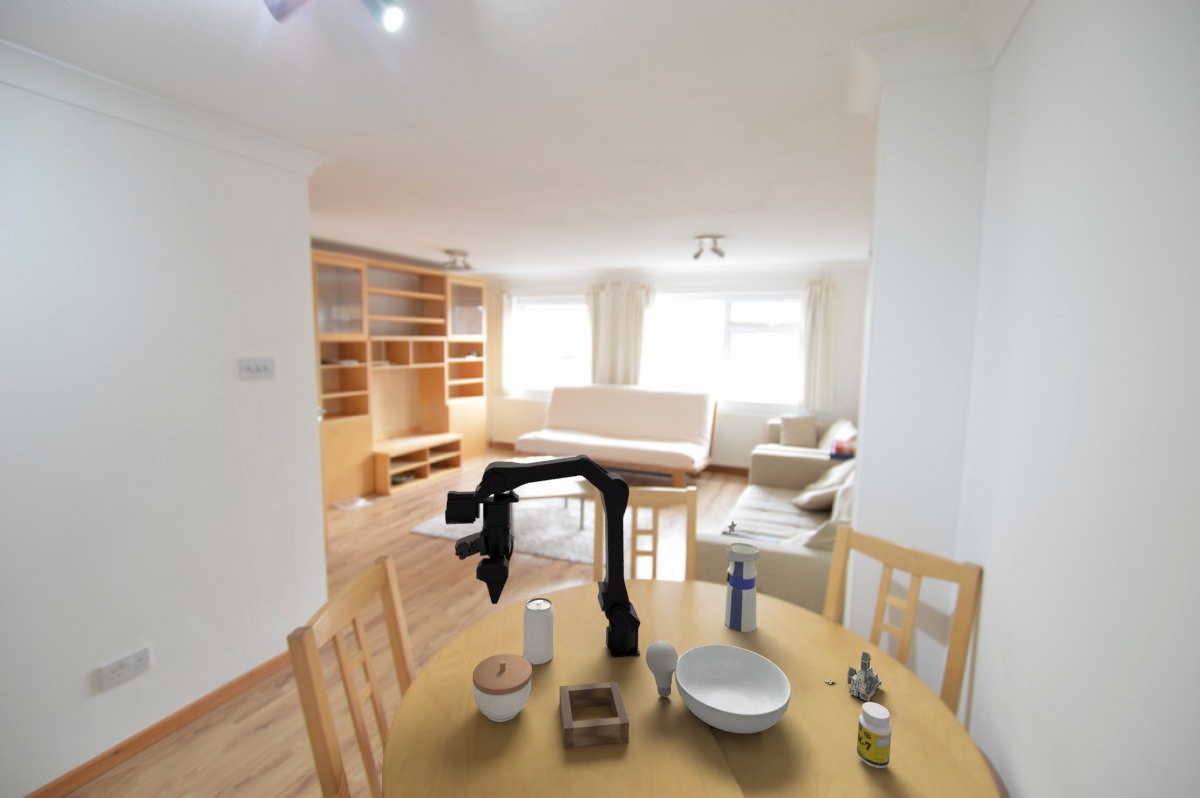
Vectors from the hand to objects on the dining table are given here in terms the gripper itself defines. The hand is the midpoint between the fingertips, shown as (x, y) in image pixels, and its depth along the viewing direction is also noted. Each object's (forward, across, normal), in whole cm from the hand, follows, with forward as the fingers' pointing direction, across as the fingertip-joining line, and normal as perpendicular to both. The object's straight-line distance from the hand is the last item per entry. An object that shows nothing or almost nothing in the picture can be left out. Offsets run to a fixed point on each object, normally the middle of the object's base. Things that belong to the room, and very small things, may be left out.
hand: (496, 593), depth 108 cm
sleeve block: (+14, +21, +19) cm, 32 cm away
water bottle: (+15, -10, +58) cm, 61 cm away
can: (+15, 0, +9) cm, 17 cm away
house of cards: (+15, +14, +74) cm, 76 cm away
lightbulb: (+14, +16, +34) cm, 40 cm away
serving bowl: (+15, +20, +45) cm, 51 cm away
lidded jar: (+15, +17, +3) cm, 22 cm away
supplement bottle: (+15, +33, +65) cm, 74 cm away
